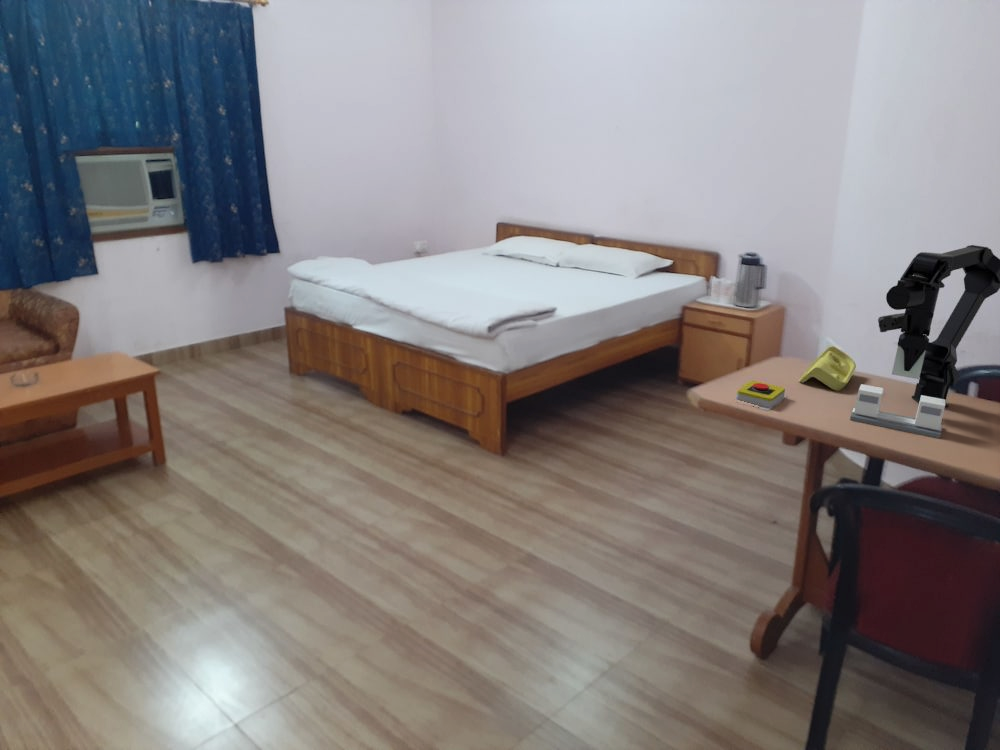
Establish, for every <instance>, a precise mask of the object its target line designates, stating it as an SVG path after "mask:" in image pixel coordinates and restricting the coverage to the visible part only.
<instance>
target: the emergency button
mask: <svg viewBox="0 0 1000 750" xmlns="http://www.w3.org/2000/svg"><path fill="white" fill-rule="evenodd" d="M785 393H786V388H785V387H782V386H778V385H775V384H769V383H766V382H762V381H756V380H751V381H749V382H748V383H746V384H744V385H743V386H741V387H739V388H738V389H737V392H736V396H735V399H737V400H740V401H744V402H747V403H751V404H754V405H758V406H759V407H760V408H761V409H760V410H762V409H763V410H762V411H771V410H772V409H773V408H775V407H776V406H777V405H778V404H779V403H781V402H782V401H783V400H784V399H785V398H787V395H786V394H785Z"/></svg>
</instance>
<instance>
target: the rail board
mask: <svg viewBox="0 0 1000 750" xmlns="http://www.w3.org/2000/svg"><path fill="white" fill-rule="evenodd" d="M883 393H884V388H883V387H877V386H873V385H868V384H862V383H861V384H860V385H859V388H858V393H857V396H856V401H855V405H854V407H853V409H852V411H851V415H850V419H849V420H850V421H854V422H859V423H863V424H868V425H873V426H878V427H882V428H888V429H893V430H897V431H902V432H908V433H912V434H917V435H923V436H928V437H931V438H937V439H941V436H942V430H943V429H942V428H943V426H942V425H943V424H942V420H943V416H944V412H945V408H946V407H945V403H946V402H945V399H940V398H934V397H929V396H923V395H921V398H920V402H918V403H919V404H918V406H917V410H916V415H915V417H911V416H907V415H906V416H905V415H900V414H895V413H891V412H885V411H880V406H881V402H882V397H883Z"/></svg>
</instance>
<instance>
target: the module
mask: <svg viewBox="0 0 1000 750" xmlns="http://www.w3.org/2000/svg"><path fill="white" fill-rule="evenodd" d="M925 352H926V350H925V351H924V353H923V354H922V355H921V357H920V358H919V359H918V360H917V362H916V363H915V364H914V366H913V367H912V368H911V370H910V371H904V350H903V349H902V348H901V347H900V346H898V345H897V349H896V353H895V357H894V358H895V359H894V362H893V366H892V370H891V375H894V376H899V377H906V378H910V379H916V380H919V379H920V373H921V369H922V365H923V360H924V356H925Z"/></svg>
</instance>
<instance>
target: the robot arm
mask: <svg viewBox="0 0 1000 750" xmlns="http://www.w3.org/2000/svg"><path fill="white" fill-rule="evenodd" d="M960 269H962V270H963V272H964V274H965V275H964V278H963V283H964V284H963V285H964V291H963V293H962V294H961V296H960V298H959V300H958V301H957V303H956V305H955V307H954V309H953V311H951V313H950V315H949V318H948V319H947V321H946V322H945V324H944V326H943V327H942V328H941V331H940V332H939V334H938V336H937V338H936V339H935V340H933V341H931V342H930V338H929V336H930V334H931V325H932V322H933V318H934V313H935V310H936V305H937V301H938V297H939V292H940V289H944V288H945V286H946V285H945V283H944V282H943V280H945V279H946V278H948V277H950V276H951V274H952V272H953V271H956V270H960ZM899 279H900V280H898V281H897V284H896V285H893V286H892V287H890V289H889V290H888V292H886V296H885V297H886V298H885V300H886V303H887V305H888V306H889V307H890V308H891V309H893V310H897V311H900V310H905V311H904V312H902V313H894V314H888V315H882V316H879V317H878V319H877V322H878V327H879V332H880V333H886V332H888V331H893V330H895V331H897V330H900V332H901V333H900V335H899V337H898V340H897V347H898V346H900V347H901V348H902V349H903V350H904V371H910V370H911V368H912V367H913V366H914V364H915V363H916V362H917V360H918V359H919V358H920V357H921V355H922V354H923V353H924V351H925V350H926V352H925V356H924V360H923V365H922V369H921V373H920V377H919V379H918V382H917V383H916V385H915V390H914V395H911V398H912V399H913V400H914V401H915V402H917V403H919V402H920V398H921V395H923V396H929V397H934V398H940V399H945V408H947V407H949V406H950V404H948V403H947V402H946V401H947V396H948V394H949V390H950V386H951V387H954V386H955V385H956V384H957V383H958V381H959V379H960V374H959V372H958V369H957V367H956V364H957V362H958V356H957V348H958V347H959V345H960V342H961V341H962V340H963V338H964V336H965V334H966V332H967V331H968V329H969V327H970V325H971V324H972V322H973V320H974V319H975V317H976V316H977V314H978V312H979V310H980V308H981V306H982V305H983V303H984V301H986V299H987V298H989V297H991V296H993V295H994V294H996V293H998V291H999V290H1000V258H999V257H997V256H996V255H995V254H994V252H993V250H992V249H991V248H989V247H988V246H982V245H981V246H980V245H975V244H971V245H967V246H966V247H962V248H958V249H953V250H950V251H945V252H943V253H940V252H939V253H938V252H937V253H936V252H926V251H925V252H923V251H922V252H919V253H917V254H916V255H915V256H914V257H913V258H912V260H911V261H910V263H909V264H908V266H907V267H906V269H905V270H904V272H903V274H902V275H901V277H900V278H899Z"/></svg>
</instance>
